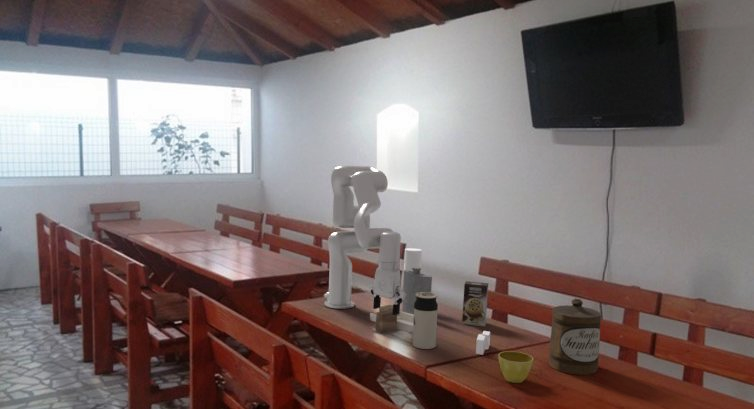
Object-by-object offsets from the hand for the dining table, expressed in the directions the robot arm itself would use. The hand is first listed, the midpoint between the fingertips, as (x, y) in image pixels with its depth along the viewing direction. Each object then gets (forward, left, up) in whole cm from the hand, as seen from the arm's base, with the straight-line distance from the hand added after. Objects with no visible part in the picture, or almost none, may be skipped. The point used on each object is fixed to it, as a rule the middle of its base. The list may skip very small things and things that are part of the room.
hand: (386, 311), depth 229 cm
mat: (+1, 0, -7) cm, 7 cm away
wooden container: (+65, +18, -8) cm, 68 cm away
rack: (-2, +11, -7) cm, 14 cm away
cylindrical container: (-17, +34, -8) cm, 39 cm away
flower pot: (+59, -7, -8) cm, 60 cm away
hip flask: (-7, +25, -8) cm, 27 cm away
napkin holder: (+36, +11, -8) cm, 39 cm away
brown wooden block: (+1, 0, -7) cm, 7 cm away
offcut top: (-10, +12, -5) cm, 16 cm away
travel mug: (+21, -3, -8) cm, 22 cm away
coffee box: (+15, +35, -8) cm, 39 cm away
